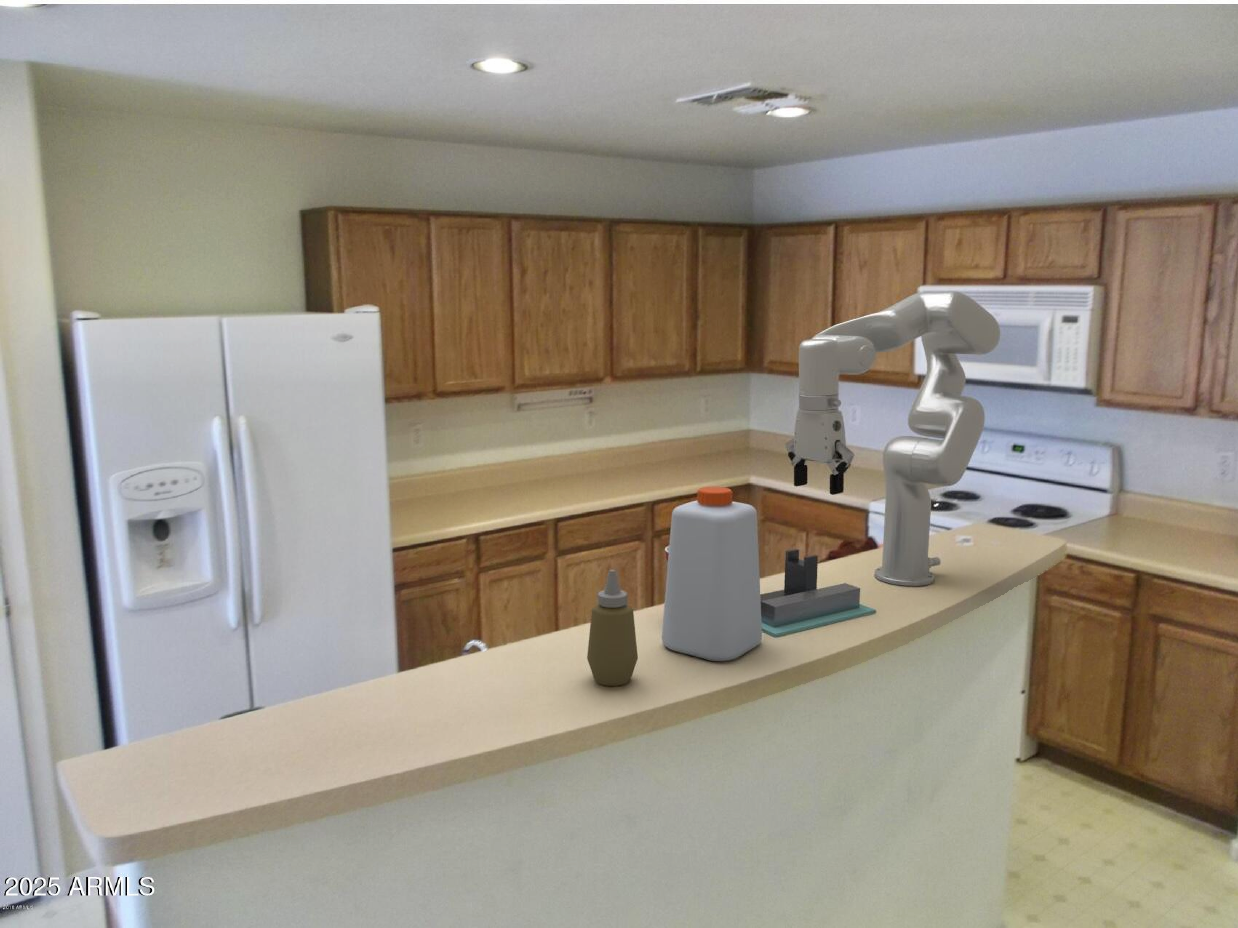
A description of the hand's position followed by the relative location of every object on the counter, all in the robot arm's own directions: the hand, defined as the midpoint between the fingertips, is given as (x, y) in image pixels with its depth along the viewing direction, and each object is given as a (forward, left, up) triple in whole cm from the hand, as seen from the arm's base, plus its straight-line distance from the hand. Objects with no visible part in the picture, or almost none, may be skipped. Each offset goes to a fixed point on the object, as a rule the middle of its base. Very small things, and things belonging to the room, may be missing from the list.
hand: (818, 489), depth 178 cm
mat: (+6, +6, -24) cm, 25 cm away
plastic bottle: (+31, +7, -24) cm, 40 cm away
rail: (+6, +6, -23) cm, 25 cm away
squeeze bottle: (+54, +11, -24) cm, 61 cm away
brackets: (+6, -6, -24) cm, 25 cm away
